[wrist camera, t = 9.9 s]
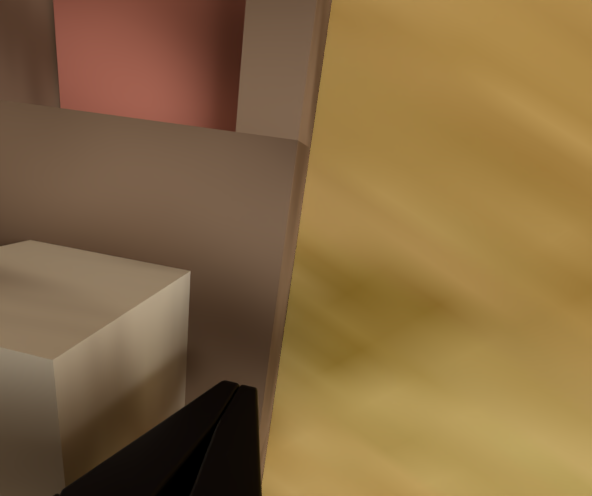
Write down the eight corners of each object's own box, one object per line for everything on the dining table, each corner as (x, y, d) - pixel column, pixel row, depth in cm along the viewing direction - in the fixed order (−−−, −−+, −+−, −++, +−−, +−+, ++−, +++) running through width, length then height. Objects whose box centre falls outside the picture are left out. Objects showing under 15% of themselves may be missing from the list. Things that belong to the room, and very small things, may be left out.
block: (184, 417, 9) (74, 585, 6) (45, 382, 10) (-139, 511, 6) (190, 271, 8) (53, 359, 4) (29, 239, 9) (-217, 294, 5)
